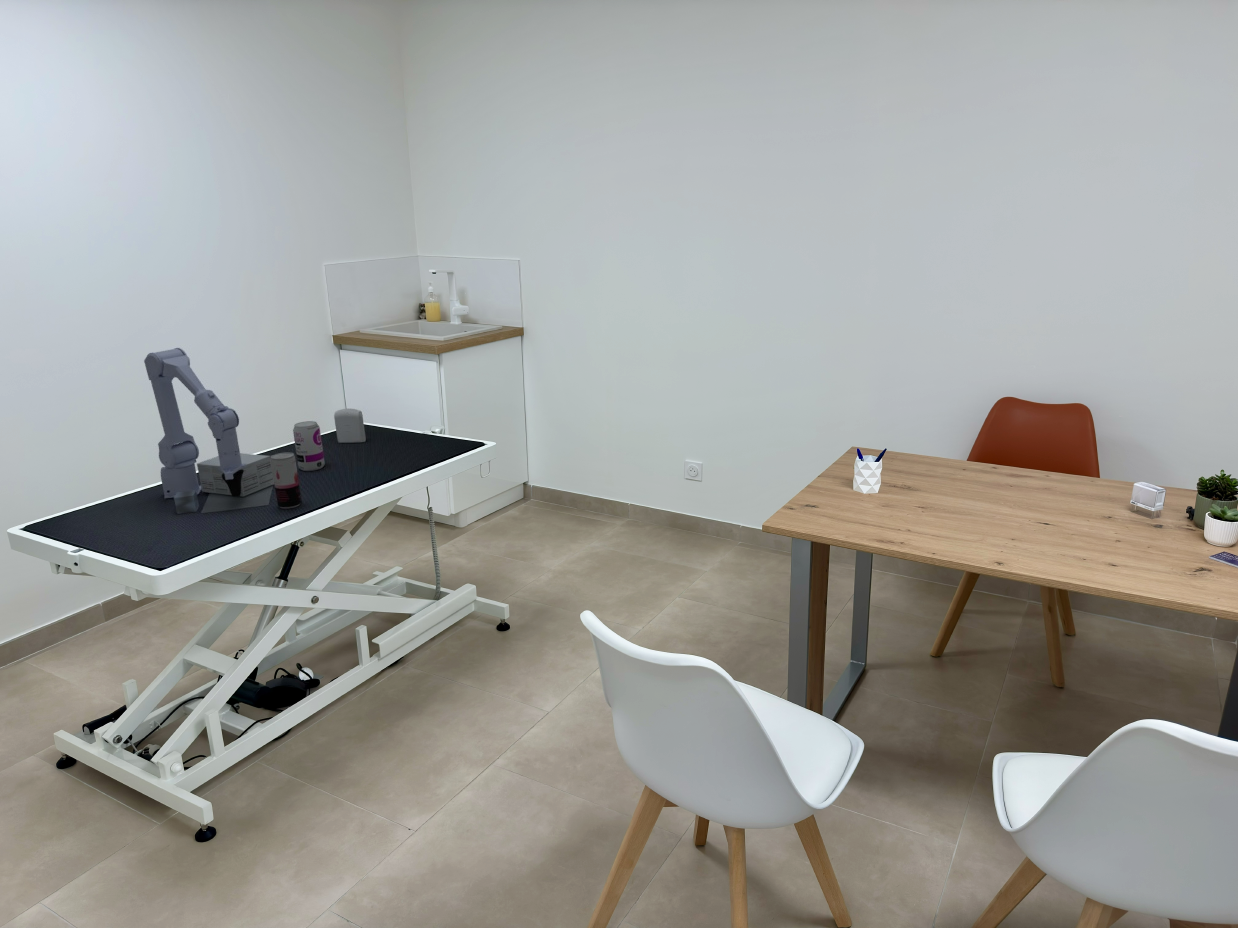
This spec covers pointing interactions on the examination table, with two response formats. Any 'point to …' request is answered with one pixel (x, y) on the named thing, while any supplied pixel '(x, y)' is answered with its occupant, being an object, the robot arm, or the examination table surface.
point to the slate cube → (186, 502)
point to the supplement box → (252, 478)
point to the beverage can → (286, 480)
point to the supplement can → (308, 446)
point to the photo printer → (349, 426)
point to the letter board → (237, 501)
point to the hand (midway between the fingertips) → (236, 495)
